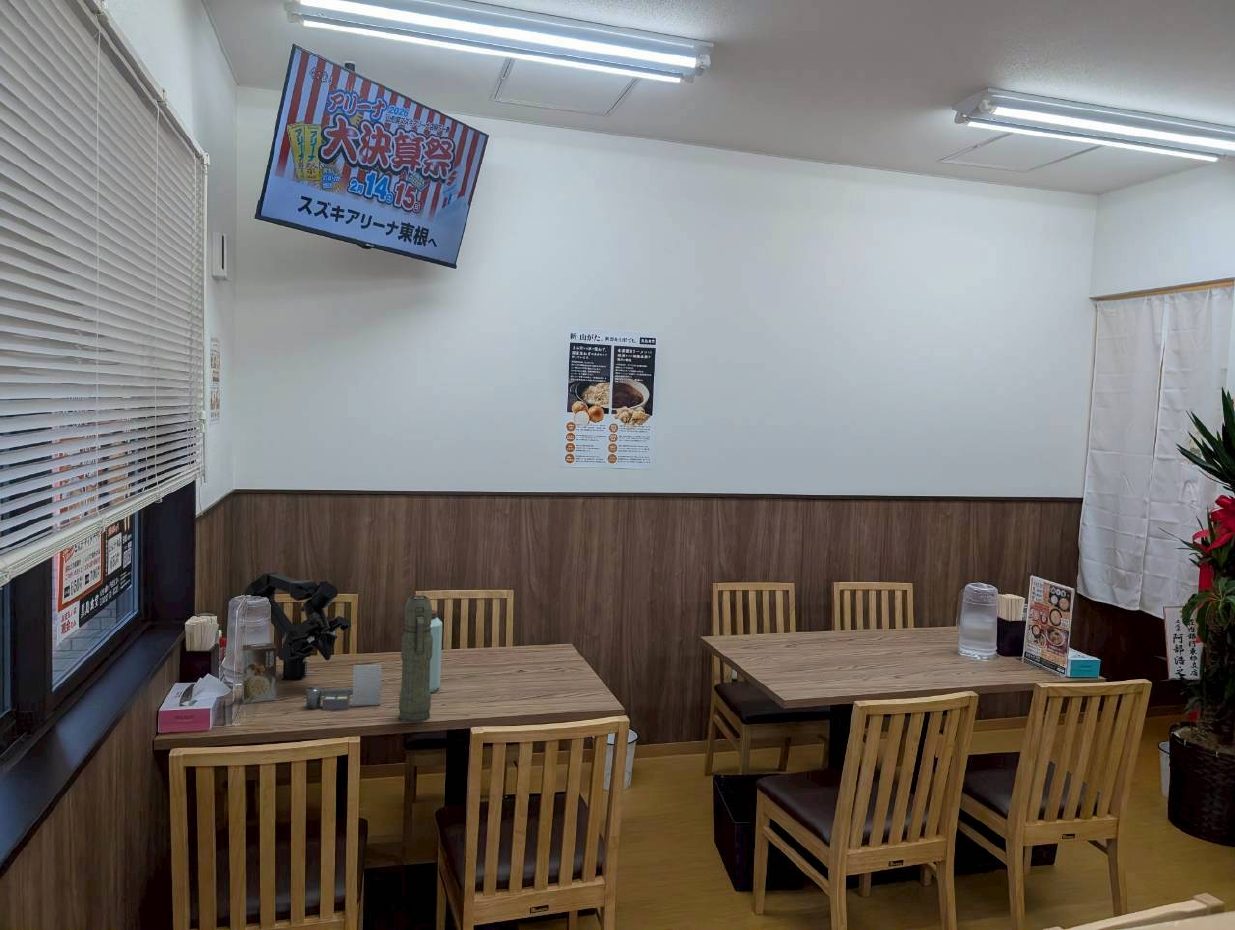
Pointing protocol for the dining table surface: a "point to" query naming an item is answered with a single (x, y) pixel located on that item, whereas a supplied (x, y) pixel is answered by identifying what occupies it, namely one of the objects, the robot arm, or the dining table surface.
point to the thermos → (416, 660)
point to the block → (336, 702)
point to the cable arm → (362, 691)
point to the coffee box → (259, 672)
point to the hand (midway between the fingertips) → (327, 659)
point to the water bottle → (435, 652)
